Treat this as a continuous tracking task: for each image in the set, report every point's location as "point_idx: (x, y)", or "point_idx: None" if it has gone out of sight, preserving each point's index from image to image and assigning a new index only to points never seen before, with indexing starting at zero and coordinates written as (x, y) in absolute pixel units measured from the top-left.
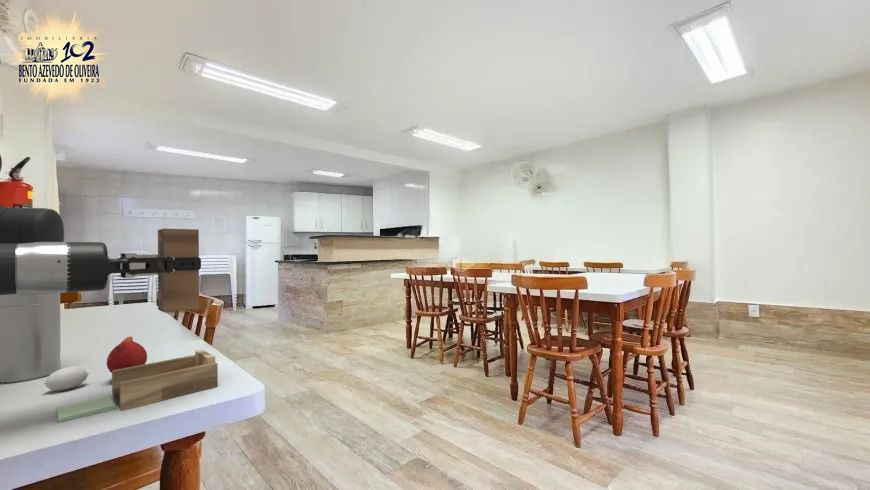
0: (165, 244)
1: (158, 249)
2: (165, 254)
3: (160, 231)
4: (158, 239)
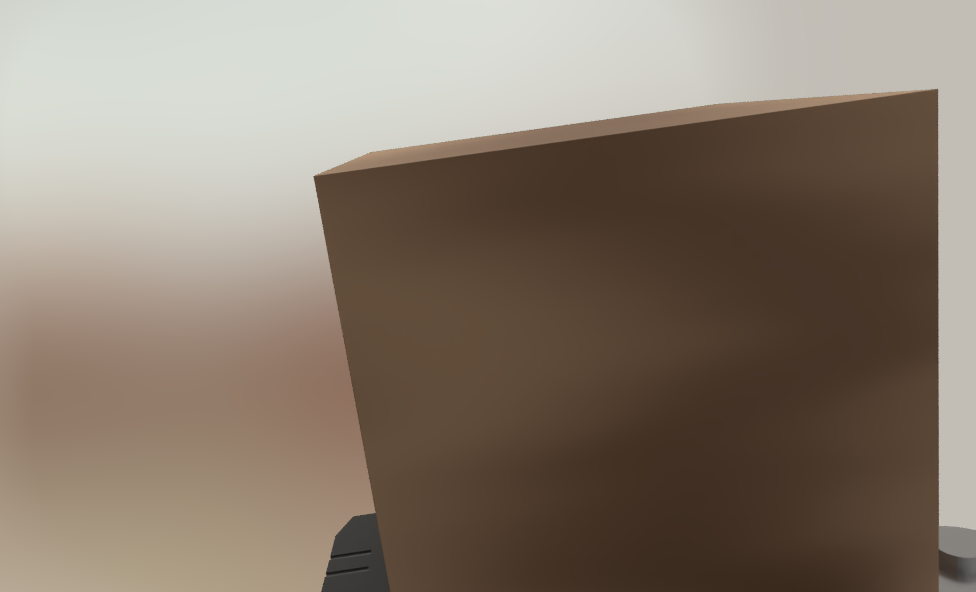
0: (924, 394)
1: (447, 557)
2: (921, 560)
3: (598, 182)
4: (421, 369)
